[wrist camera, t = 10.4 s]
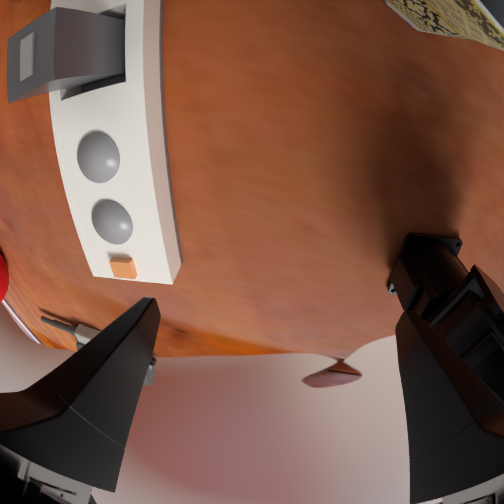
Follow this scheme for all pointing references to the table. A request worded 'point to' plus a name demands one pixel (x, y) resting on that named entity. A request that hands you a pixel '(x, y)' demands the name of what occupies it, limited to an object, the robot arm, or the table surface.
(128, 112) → the power strip
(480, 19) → the ceramic cup
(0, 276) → the ornament
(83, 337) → the walkie-talkie
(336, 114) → the table surface
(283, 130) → the table surface
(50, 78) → the grey rectangular block
